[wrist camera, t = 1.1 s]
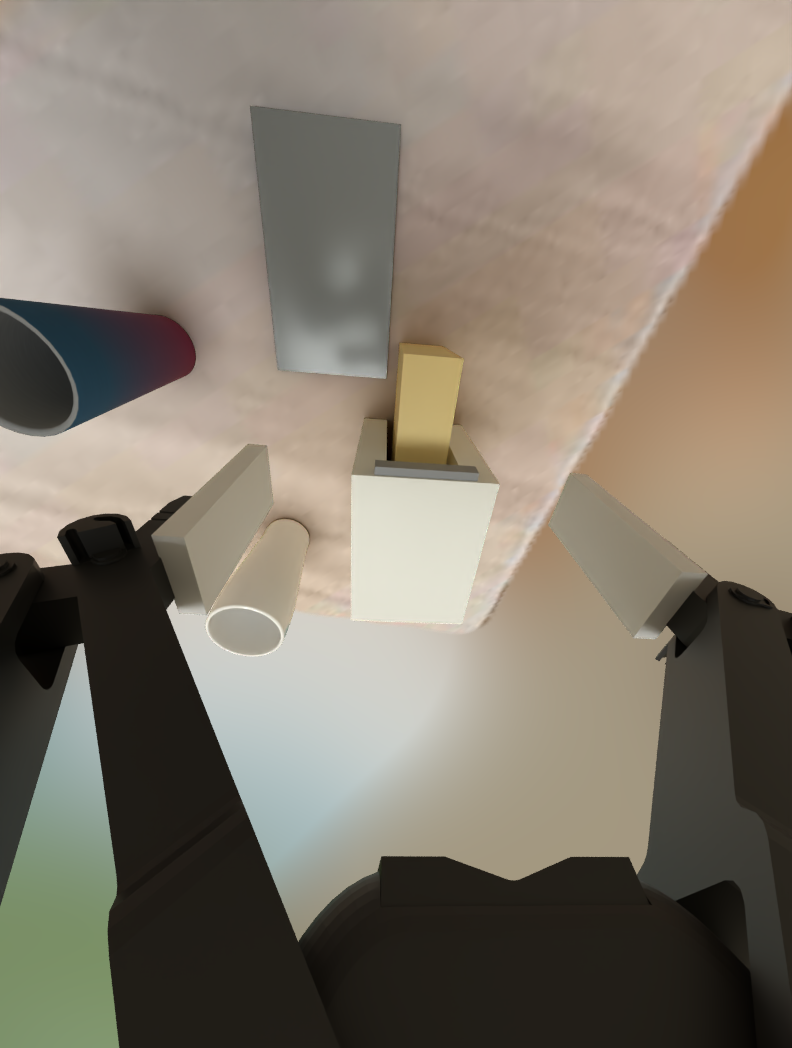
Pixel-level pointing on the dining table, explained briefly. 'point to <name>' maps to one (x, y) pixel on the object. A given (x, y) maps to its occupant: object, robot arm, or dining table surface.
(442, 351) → the yellow rectangular block
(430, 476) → the box
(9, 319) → the cup
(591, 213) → the dining table surface
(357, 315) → the slate pad
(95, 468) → the dining table surface
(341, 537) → the dining table surface
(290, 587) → the drinking glass
